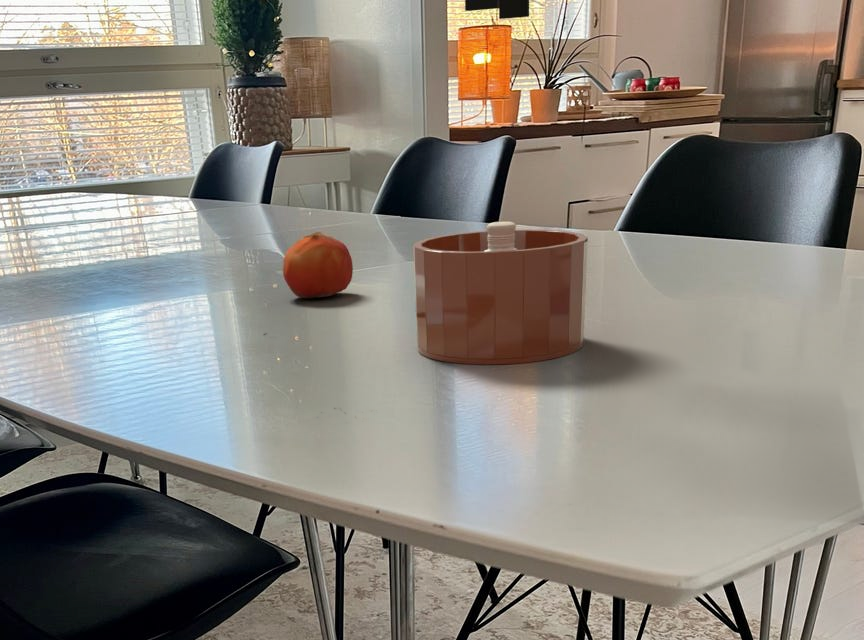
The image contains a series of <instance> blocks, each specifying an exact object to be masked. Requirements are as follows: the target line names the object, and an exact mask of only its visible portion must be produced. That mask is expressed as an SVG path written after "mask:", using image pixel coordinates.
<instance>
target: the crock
mask: <svg viewBox="0 0 864 640" xmlns="http://www.w3.org/2000/svg"><path fill="white" fill-rule="evenodd" d="M514 234H515V240H514V243H515V245H514V248H516V249H517V250H509V251H485V250H488V248H489V247H488V231H487V230H482V231H469V232H460V233H451V234H445V235H438V236H433V237H429V238H425V239H421V240H418V241H416V242H415V243H413V245H412V247H413V249H412V250H413V273H414V299H415V324H416V325H415V327H416V344H417V352H418V353H419V354H420V355H422V356H423V357H426V358H428V359H431V360H435V361H440V362H446V363H452V364H464V365H485V366H486V365H490V366H491V365H493V366H494V365H514V364H515V365H516V364H527V363H535V362H541V361H547V360H552V359H557V358H560V357H564V356H567V355H570V354H573V353H575V352H577V351H578V350H580V349H581V348H582V347H583V344H584V339H585V323H586V322H585V320H586V319H585V318H586V296H587V295H586V293H587V269H588V243H589V242H588V236H586V235H585V234H583V233H581V232H575V231H568V230H557V229H556V230H555V229H515V232H514Z"/></svg>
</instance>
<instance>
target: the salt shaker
mask: <svg viewBox="0 0 864 640" xmlns="http://www.w3.org/2000/svg"><path fill="white" fill-rule="evenodd" d="M516 227H517V224H516V223H515V222H512V221H494V222H490V223H488V224H487V225H486V231H488V247H489V248H488V250H485V251H509V250H517V249H516V248H514V245H515V243H514V240H515V234H514V232H515V230H516V229H517V228H516Z"/></svg>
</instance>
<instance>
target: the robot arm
mask: <svg viewBox="0 0 864 640" xmlns="http://www.w3.org/2000/svg"><path fill="white" fill-rule="evenodd" d="M464 7H465V8H464V11H465V12H473V11H485V10H496V9H498V19H499V20H505V19H506V20H507V19H517V18H518V19H519V18H529V17H530V0H464Z"/></svg>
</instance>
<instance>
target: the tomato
mask: <svg viewBox="0 0 864 640" xmlns="http://www.w3.org/2000/svg"><path fill="white" fill-rule="evenodd" d="M282 263H283V265H282V274H283V275H282V276H283V279H284V281H285V282H286V284H287V286H288V288H289V289H290V291H291V292H292V293H293V294H294V295H295V296H296V297H298V298H301V299H312V298H325V297H331V296H333V295H335V294H337V293H342V292H343V291H344V290H346V289H348V287H349V285H350V283H351V281H352V279H353V274H354V273H353V272H354V270H353V269H354V266H353V258H352V257H351V253H350V251H349V249H348V247H347V246H346V244H344V243H343V242H342V241H340V240H338V239H336V238H334V237H332V236H330V235H327V234H325V233H323V232H320V231H319V232H312V233H311V234H307V235H304V236H303V237H302V238H301V239H299V240H297V241H296V242H295V243H294V244H293V245H292V246H291V247H289V248H288V250H287V251H286V253H285V255H284V258H283V262H282Z"/></svg>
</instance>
